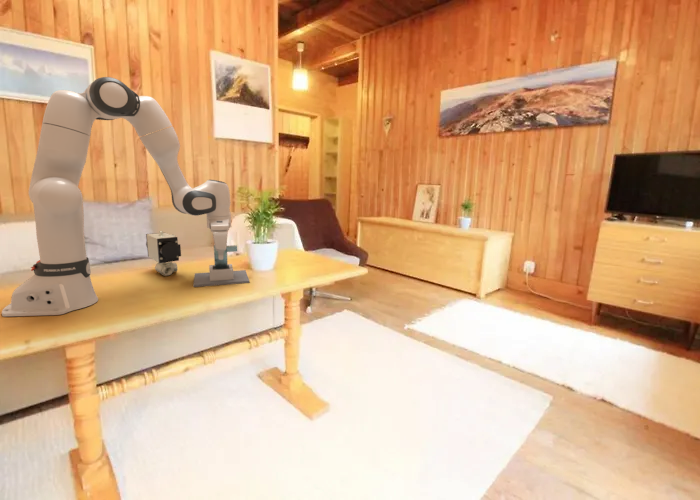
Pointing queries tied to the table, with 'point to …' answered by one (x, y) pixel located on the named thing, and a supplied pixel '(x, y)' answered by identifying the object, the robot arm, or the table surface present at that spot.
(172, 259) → the ball valve
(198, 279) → the grey base plate
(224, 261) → the elbow
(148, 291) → the table surface
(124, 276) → the table surface
